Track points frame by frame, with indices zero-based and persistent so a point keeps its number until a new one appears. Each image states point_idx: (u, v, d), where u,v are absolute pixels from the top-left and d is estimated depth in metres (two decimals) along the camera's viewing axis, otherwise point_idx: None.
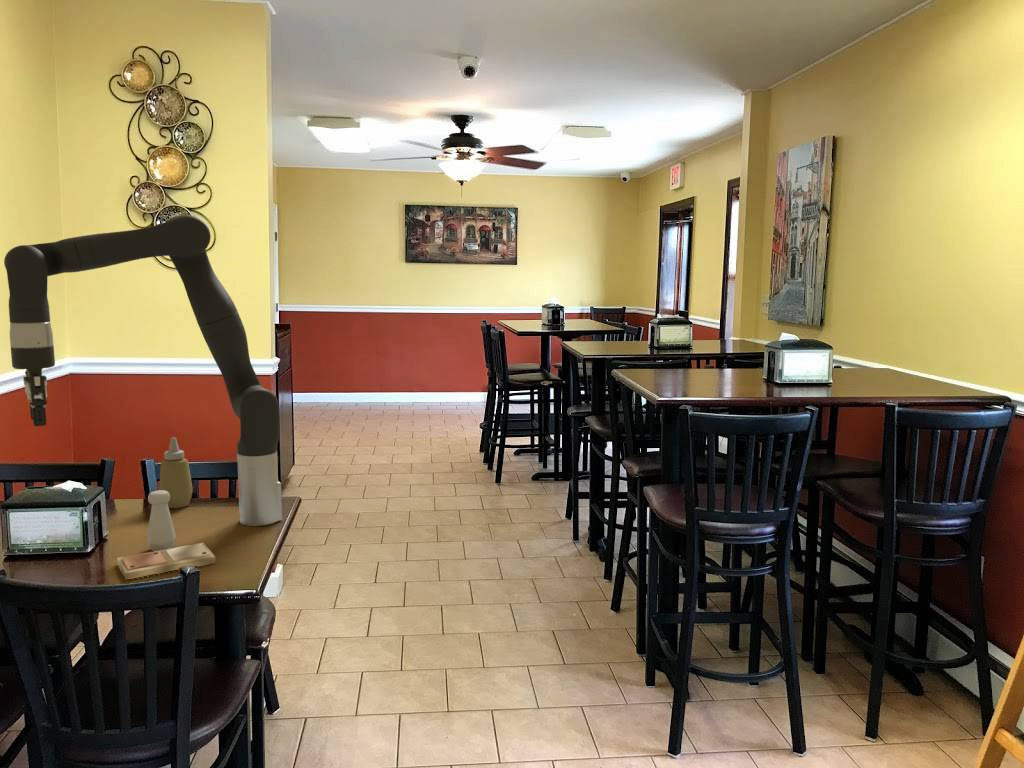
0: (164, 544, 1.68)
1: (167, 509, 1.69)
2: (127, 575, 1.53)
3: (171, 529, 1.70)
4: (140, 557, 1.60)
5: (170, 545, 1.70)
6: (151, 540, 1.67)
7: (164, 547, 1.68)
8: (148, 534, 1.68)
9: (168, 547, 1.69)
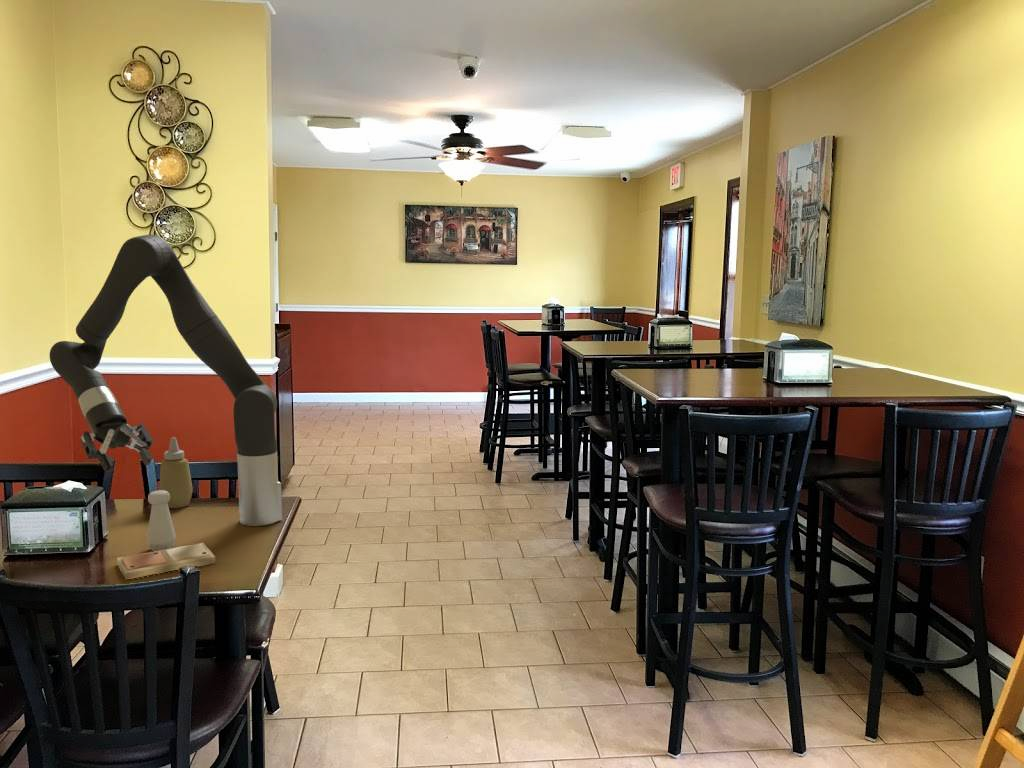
0: (164, 544, 1.68)
1: (167, 509, 1.69)
2: (127, 575, 1.53)
3: (171, 529, 1.70)
4: (140, 557, 1.60)
5: (170, 545, 1.70)
6: (151, 540, 1.67)
7: (164, 547, 1.68)
8: (148, 534, 1.68)
9: (168, 547, 1.69)
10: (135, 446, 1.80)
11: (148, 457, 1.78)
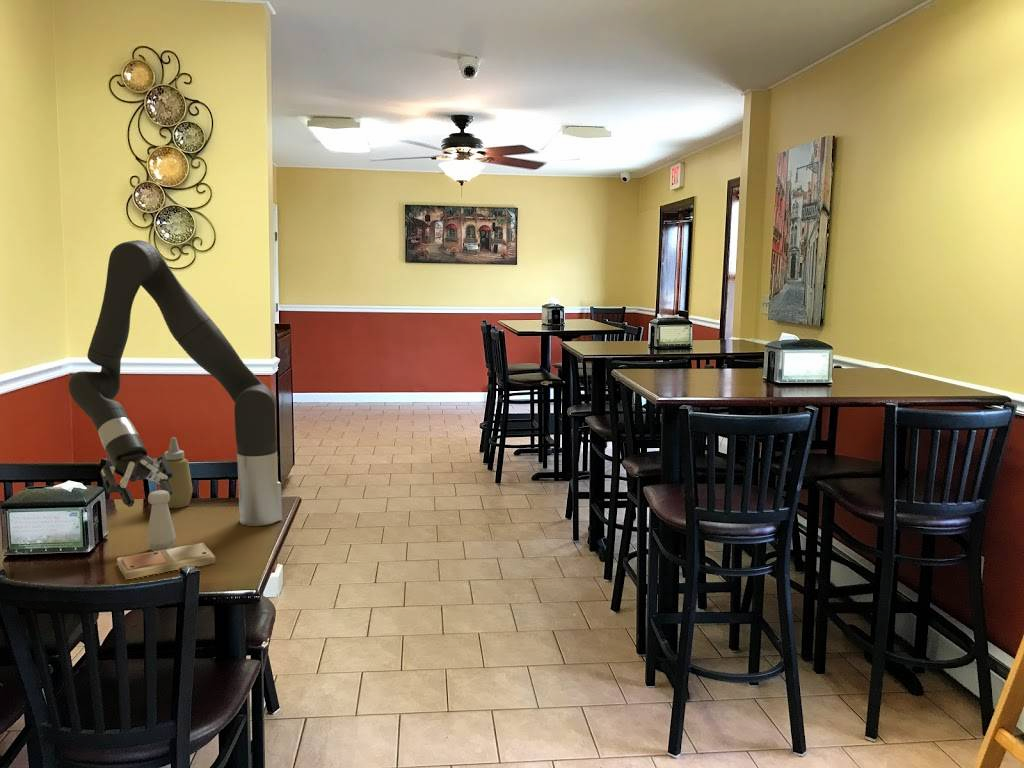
0: (164, 544, 1.68)
1: (167, 509, 1.69)
2: (127, 575, 1.53)
3: (171, 529, 1.70)
4: (140, 557, 1.60)
5: (170, 545, 1.70)
6: (151, 540, 1.67)
7: (164, 547, 1.68)
8: (148, 534, 1.68)
9: (168, 547, 1.69)
10: (156, 478, 1.76)
11: (169, 490, 1.74)
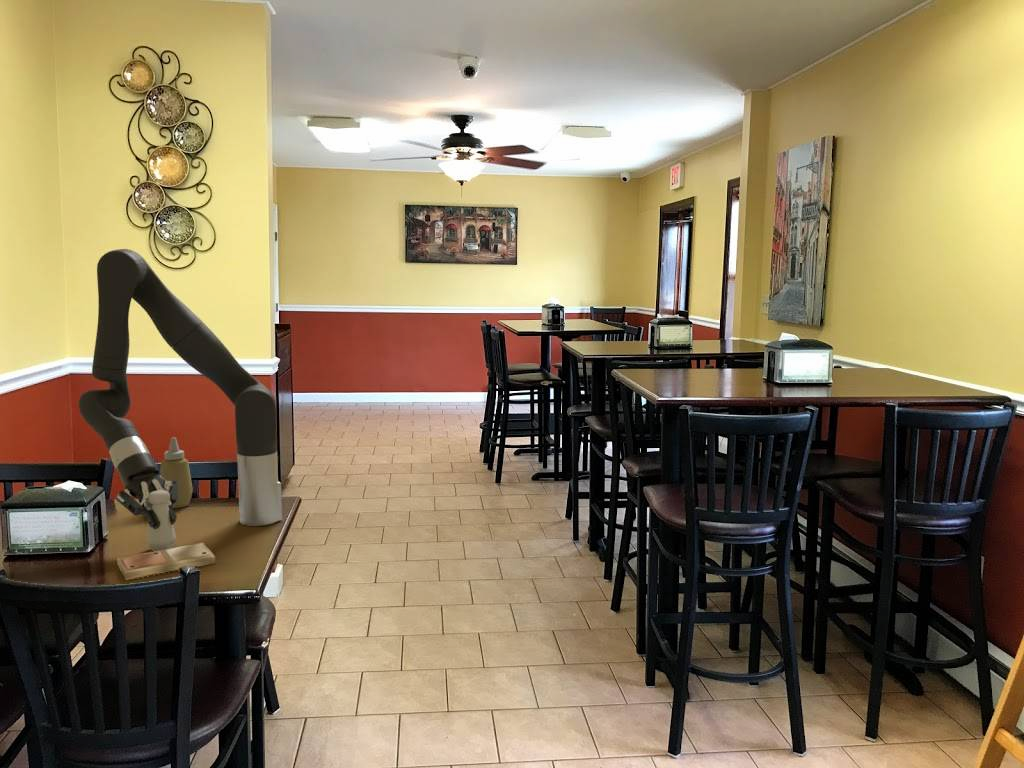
0: (164, 544, 1.68)
1: (167, 509, 1.69)
2: (127, 575, 1.53)
3: (171, 529, 1.70)
4: (140, 557, 1.60)
5: (170, 545, 1.70)
6: (151, 540, 1.67)
7: (164, 547, 1.68)
8: (148, 534, 1.68)
9: (168, 547, 1.69)
10: None
11: (173, 517, 1.69)
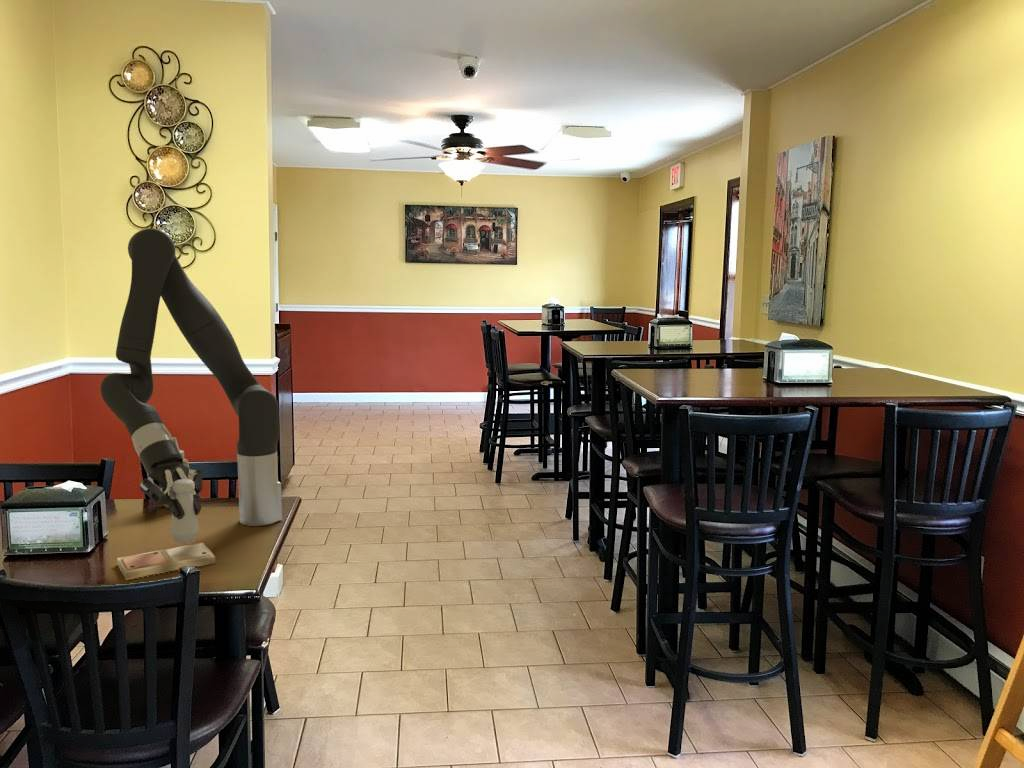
0: (188, 535, 1.61)
1: (192, 499, 1.62)
2: (127, 575, 1.53)
3: (195, 520, 1.63)
4: (140, 557, 1.60)
5: (194, 536, 1.63)
6: (175, 530, 1.60)
7: (188, 538, 1.61)
8: (171, 524, 1.61)
9: (192, 538, 1.62)
10: None
11: (197, 507, 1.63)
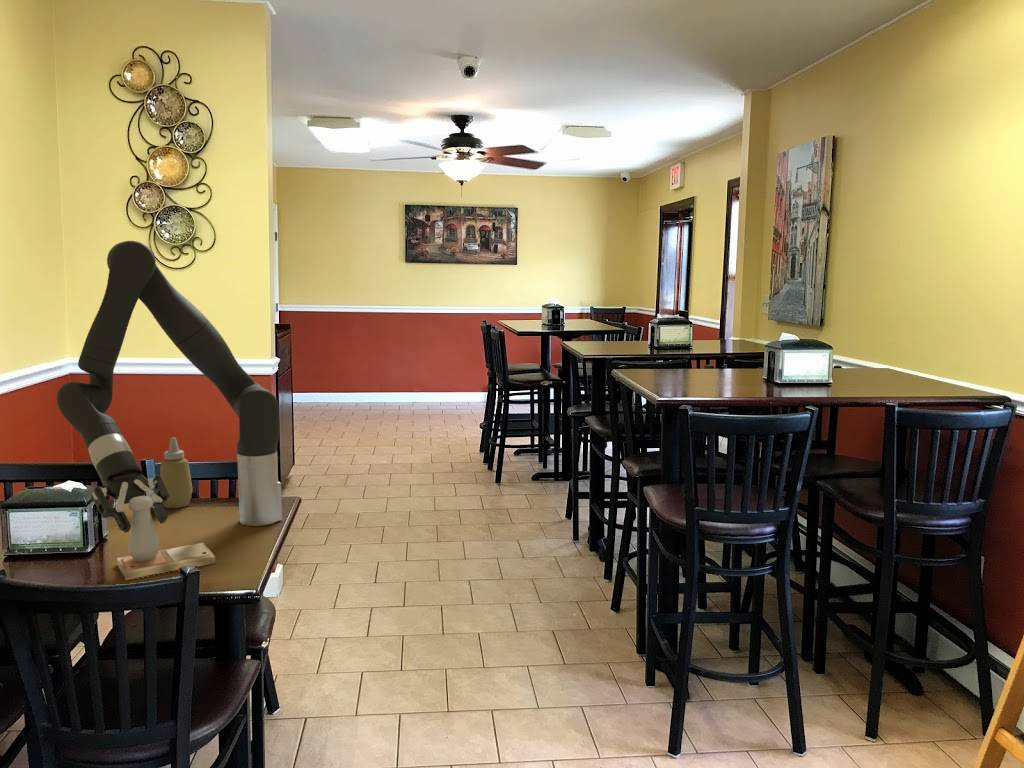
0: (147, 553, 1.57)
1: (149, 516, 1.59)
2: (127, 575, 1.53)
3: (154, 537, 1.59)
4: None
5: (153, 554, 1.59)
6: (133, 549, 1.57)
7: (147, 556, 1.58)
8: (129, 543, 1.57)
9: (151, 556, 1.59)
10: None
11: (164, 514, 1.60)
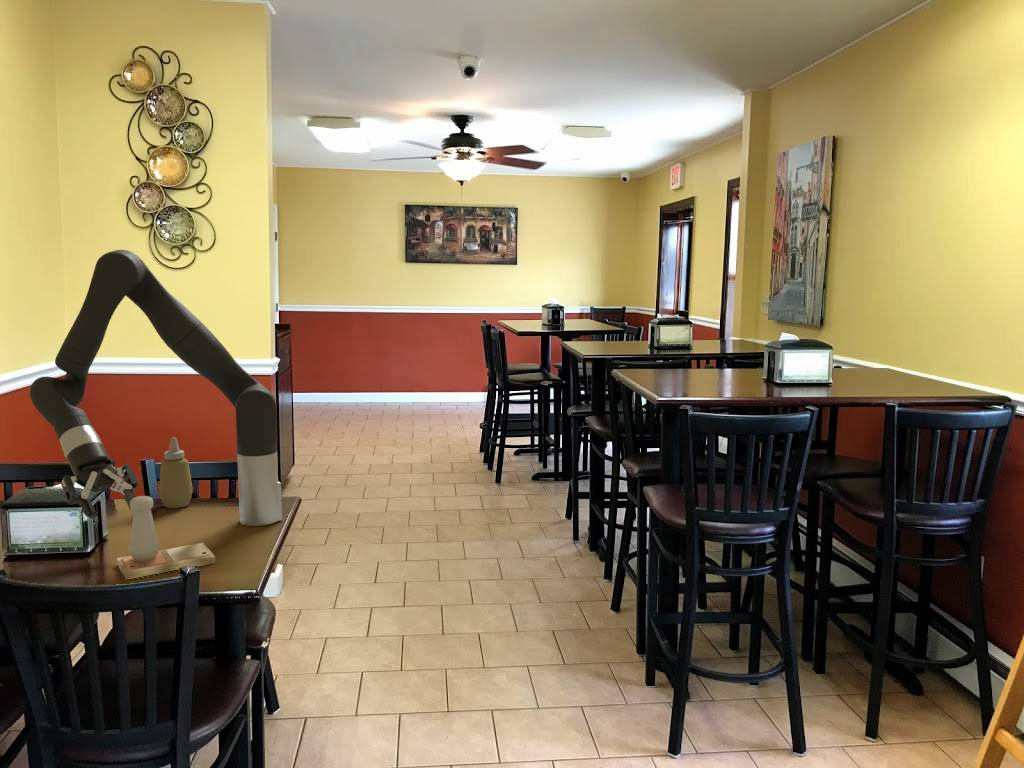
0: (147, 554, 1.57)
1: (150, 516, 1.59)
2: (127, 575, 1.53)
3: (155, 537, 1.59)
4: None
5: (154, 554, 1.59)
6: (133, 549, 1.57)
7: (147, 556, 1.58)
8: (130, 543, 1.57)
9: (151, 557, 1.59)
10: (120, 489, 1.70)
11: None
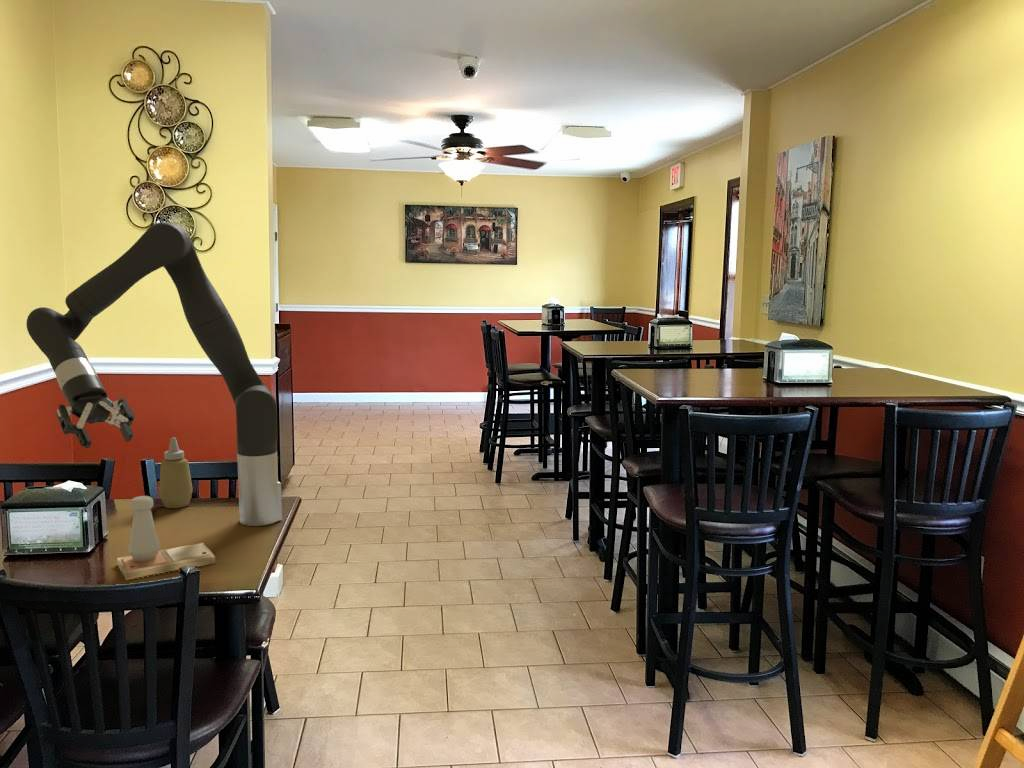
0: (147, 553, 1.57)
1: (150, 516, 1.59)
2: (127, 575, 1.53)
3: (155, 537, 1.59)
4: None
5: (154, 554, 1.59)
6: (133, 549, 1.57)
7: (147, 556, 1.58)
8: (130, 543, 1.57)
9: (151, 556, 1.59)
10: (116, 421, 1.68)
11: (129, 433, 1.66)
